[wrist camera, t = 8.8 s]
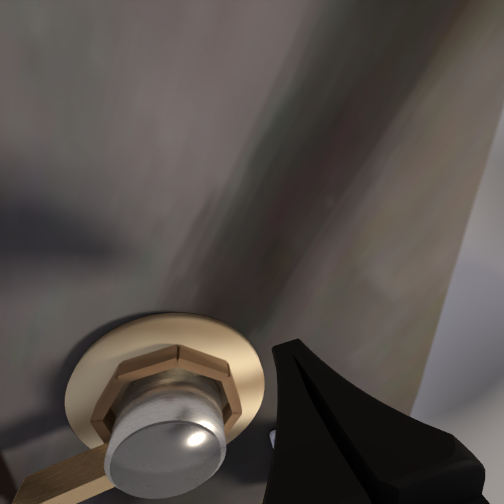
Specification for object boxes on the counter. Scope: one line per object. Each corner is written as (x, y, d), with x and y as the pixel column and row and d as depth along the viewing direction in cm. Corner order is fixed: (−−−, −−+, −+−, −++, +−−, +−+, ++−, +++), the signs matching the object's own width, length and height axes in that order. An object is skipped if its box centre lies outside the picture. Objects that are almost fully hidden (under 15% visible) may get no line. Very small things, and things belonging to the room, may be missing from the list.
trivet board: (275, 420, 28) (282, 444, 26) (117, 476, 26) (110, 508, 24) (240, 288, 22) (246, 304, 19) (29, 350, 20) (8, 376, 18)
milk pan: (199, 350, 22) (201, 401, 17) (232, 413, 25) (241, 471, 20) (10, 426, 21) (-39, 503, 16) (71, 483, 24) (44, 559, 19)
